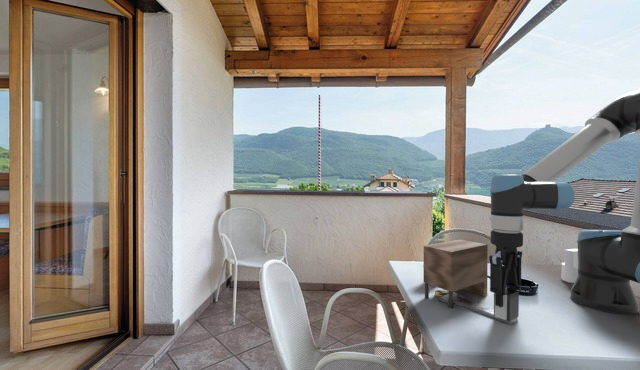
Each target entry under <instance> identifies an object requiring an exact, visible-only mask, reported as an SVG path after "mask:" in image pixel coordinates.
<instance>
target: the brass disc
mask: <svg viewBox="0 0 640 370" xmlns="http://www.w3.org/2000/svg"><path fill="white" fill-rule="evenodd" d="M447 294H449V292H448V291H447V290H443V289H439V290H438V289H437V290H435V291H434V296H435V297H436V296H437V297H436V298H439V297H441V296H444V295H447Z"/></svg>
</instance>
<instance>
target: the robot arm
mask: <svg viewBox="0 0 640 370" xmlns="http://www.w3.org/2000/svg"><path fill="white" fill-rule="evenodd" d="M632 133H635V134H636V135H638V137H640V88H639V89H635V90H633V91H629V92H626V93H624V94H622V95H621V96H619V97H617V98H616V99H614V100H613V101H612V102H609V104H607V105H606V106H604V107H603V108H602V109H600V110H599V111H598V112H596V113H595V114H593V115H592V116H591V117H589V118H588V119H587V120H586V121H585V123H584V127H582V128H581V129H580V130H578V131H577V132H576V133H575V134H573V135H571V137H569V138H568V139H566V141H564V142H563V143H561V144H560V145H559V146H557V147H556V148H555V149H554V150H552V151H551V152H550V153H548V154H547V155H546V156H544V157H543V158H542V159H540V160H539V161H538V162H537V163H535V164H534V165H533V166H531V167H530V168H528V169H527V170H526V171H525V172H524V173H522V174H495V175H493V176H492V177H491V180H490V190H489V192H490V217H489V220H490V229H492V230H490V243H491V244H492V245H494V246H495V252H494V255H489V257H488V258H489V259H488V260H489V265H490V267H489V269H490V270H489V271H490V272H489V276H490V278H489V292H490V293H493V294H494V293H495V316H496V317H498V318H501V319H504V320H507V295H505V291H506V288H510V289H513V290H517V291H519V292H520V291H521V290H522V287H521V286H522V257H523V251H521V250H518V249H517V248H521V247H524V233H523V231H524V210H553V211H557V210H567V209H570V208H571V207H572V205H573V204H574V203H575V199H576V197H575V196H576V195H575V194H576V193H575V190H574V187H572V185H571V184H570V183H568V182H564V181H558V180H559V179H561V178H562V177H564V176H565V175H566V174H567V173H569V172H570V171H572V170H573V169H574V168H576V167H577V166H578V165H580V164H581V163H583V162H584V161H585V160H586V159H587V158H589V157H590V156H592V155H593V154H595V153H596V152H597V151H599V150H600V149H601V148H603V147H604V146H605V145H606V144H611V143H615V142H616V141H618V140H620V139H621V138H622V137H623V138H624V136H626V135H629V134H632ZM637 168H638V169H637V175H636V184H635V191H634V199H633V205H632V213H631V219H630V224H629V225H628V227H627V226H626V228H624V229H622V230H619V229H618V230H616V229H613V230H612V229H611V230H610V229H582V230H579V232H578V236H577V241H576V243H577V249H578V275H577V278H576V280H575V282H574V284H573V283H572V287H571V289H570V299H571V300H572V301H574V302H575V303H577V304H580V305H582V306H584V307H587V308H590V309H594V310H598V311H602V312H607V313H612V314H621V315H635V314H638V313H639V311H640V308H639V306H640V305H639V301H638V299H637V297H636V294H635V293H634V290H633V287H632V284H631V282H635V283H638V284H640V159H639V162H638V167H637ZM521 292H522V291H521Z"/></svg>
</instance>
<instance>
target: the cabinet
mask: <svg viewBox="0 0 640 370" xmlns="http://www.w3.org/2000/svg"><path fill="white" fill-rule="evenodd" d="M488 245H489V244H488V243H487V244H486V243H481V242H476V241H470V240H465V239H455V240H449V241H443V242H438V243H432V244H431V243H430V244H426V245H423V283H424V299H429V298H430V297H429V296H430V295H429V293H430V291H429V290H430V289H429V285H430V286H433V287H435V288H439V289H440V290H443V291H446V292H448V294H449V303H448V308H449V309H454V303H453V292H456V291H457V292H458V291H460V290H464V291H467V292H470V293H472V294H473V293H474V294H476V295H479V296H483V297H486V296H488V278H487V275H488V260H489V259H488V258H489V257H488V254H489V253H488V251H489V250H488V248H489V247H488Z"/></svg>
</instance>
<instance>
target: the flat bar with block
mask: <svg viewBox="0 0 640 370" xmlns="http://www.w3.org/2000/svg"><path fill="white" fill-rule="evenodd" d="M505 295H507V320H504V319H501V318H498V317H496V316H495V293H493V307H490V306H488V305H485V304H482V303H480V302H477V301H473V300H471V299H467V298H464V296H463V294H461V293H457V292H456V291H454V292H453V304H455V305H458V306H460V305H461V306H460V307H463V308H466V309H468V308H469V309H468V310H470V311H474V312H477V313H479V314H482V315H484V316H487V317H490V318H492V319H495V320H497V321H500V322H503V323H506V324H508V325H512V324H514V323H516V322H518V318H519V315H520V314H519V310H520V306H519V304H520V299H519V298H520V291H519V290H513V289H510V288H509V287H506V291H505ZM438 300H439V301H440V302H443V303H444V304H445V303H446V304H449V293H448V294H447V295H444V296H441V297H438Z"/></svg>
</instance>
